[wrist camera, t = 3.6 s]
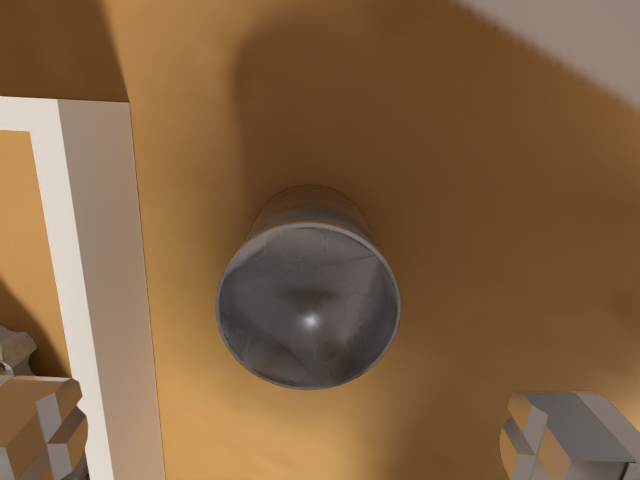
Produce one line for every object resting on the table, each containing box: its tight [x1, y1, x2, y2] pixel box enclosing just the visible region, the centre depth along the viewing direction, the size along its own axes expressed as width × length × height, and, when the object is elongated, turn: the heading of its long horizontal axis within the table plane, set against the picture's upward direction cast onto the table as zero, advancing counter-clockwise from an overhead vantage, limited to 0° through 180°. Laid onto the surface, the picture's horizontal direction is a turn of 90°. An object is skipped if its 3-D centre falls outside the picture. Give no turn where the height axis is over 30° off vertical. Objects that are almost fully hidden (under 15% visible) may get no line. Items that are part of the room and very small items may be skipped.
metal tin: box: [215, 185, 401, 390], centre depth 16 cm, size 6×6×7 cm
